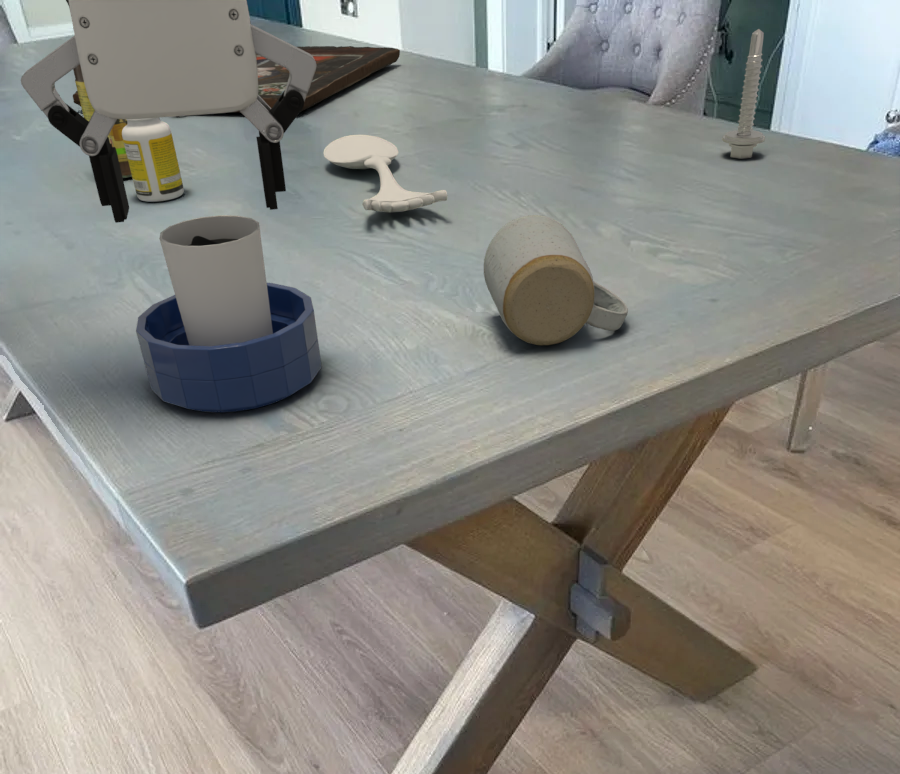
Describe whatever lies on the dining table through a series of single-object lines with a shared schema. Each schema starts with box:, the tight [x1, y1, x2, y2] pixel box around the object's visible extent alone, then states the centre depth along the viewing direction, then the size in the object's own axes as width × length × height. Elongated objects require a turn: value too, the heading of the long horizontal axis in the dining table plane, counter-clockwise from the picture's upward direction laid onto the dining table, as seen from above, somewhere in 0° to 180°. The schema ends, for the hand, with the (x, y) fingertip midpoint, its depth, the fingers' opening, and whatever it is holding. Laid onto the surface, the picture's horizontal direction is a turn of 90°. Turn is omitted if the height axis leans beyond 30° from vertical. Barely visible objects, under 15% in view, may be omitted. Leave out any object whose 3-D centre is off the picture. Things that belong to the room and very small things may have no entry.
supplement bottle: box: [122, 117, 185, 203], centre depth 106 cm, size 5×5×10 cm
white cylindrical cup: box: [158, 214, 273, 346], centre depth 65 cm, size 7×7×10 cm
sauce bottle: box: [65, 0, 132, 179], centre depth 111 cm, size 6×6×20 cm
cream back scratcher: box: [323, 134, 449, 213], centre depth 106 cm, size 9×32×4 cm, turn 15°
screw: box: [721, 28, 766, 160], centre depth 107 cm, size 13×5×5 cm
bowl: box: [135, 282, 323, 413], centre depth 67 cm, size 12×12×5 cm
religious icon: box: [72, 45, 401, 113], centre depth 159 cm, size 40×45×3 cm
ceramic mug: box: [483, 214, 629, 346], centre depth 71 cm, size 11×8×8 cm
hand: (197, 209), depth 61 cm, fingers open, 9 cm apart
